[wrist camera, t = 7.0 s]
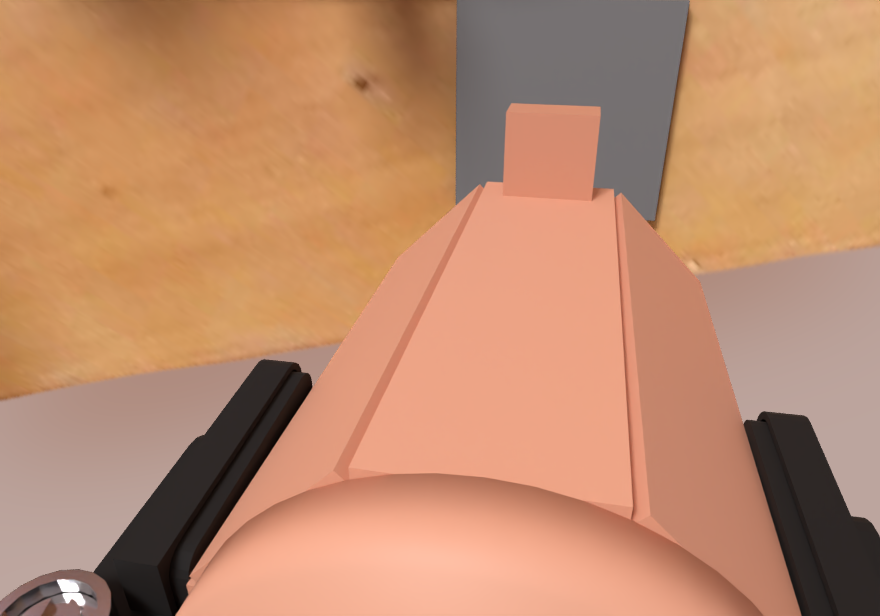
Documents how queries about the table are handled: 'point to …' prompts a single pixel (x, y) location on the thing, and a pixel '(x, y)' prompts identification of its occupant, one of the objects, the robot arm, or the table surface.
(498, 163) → the coaster
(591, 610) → the salmon domed faceted piece
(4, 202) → the table surface
